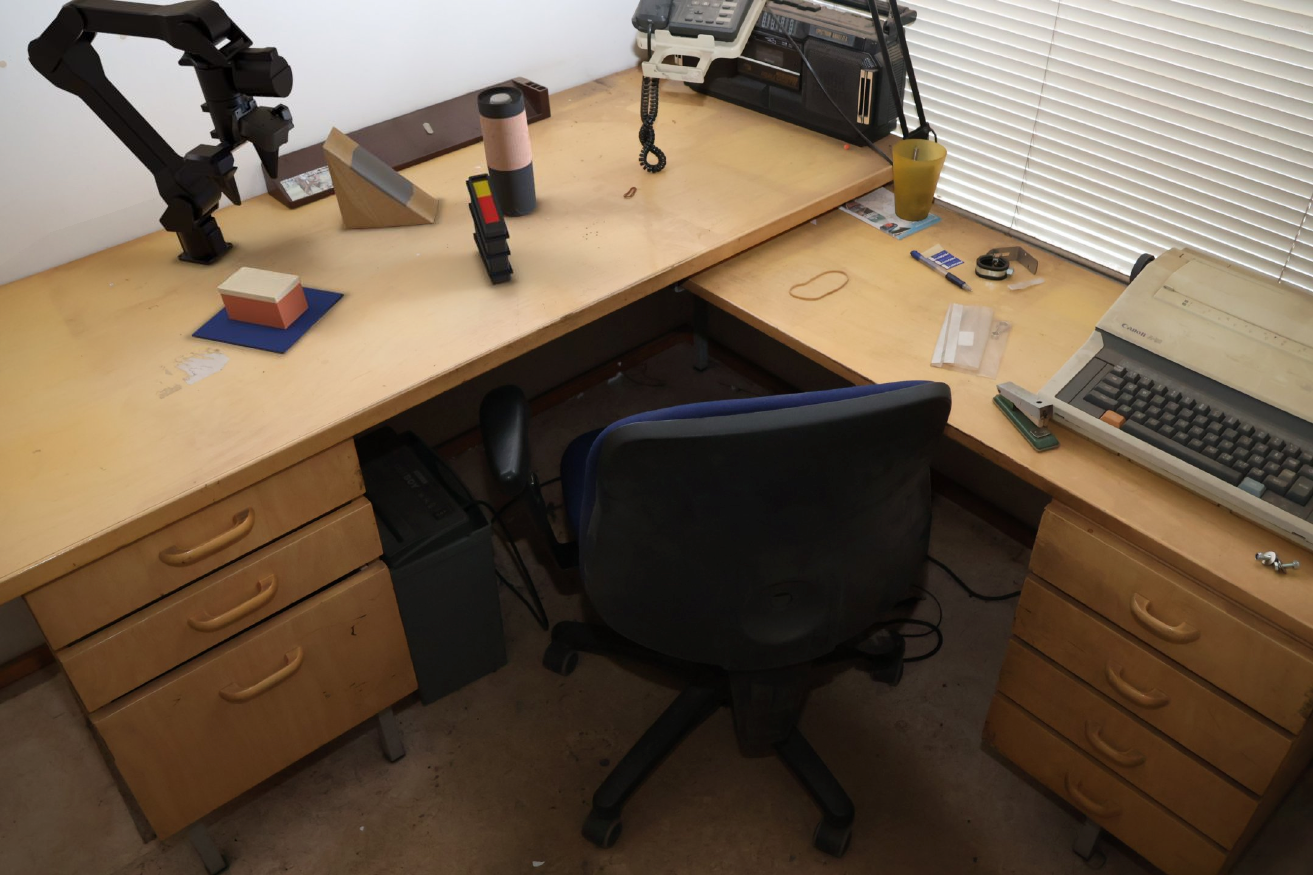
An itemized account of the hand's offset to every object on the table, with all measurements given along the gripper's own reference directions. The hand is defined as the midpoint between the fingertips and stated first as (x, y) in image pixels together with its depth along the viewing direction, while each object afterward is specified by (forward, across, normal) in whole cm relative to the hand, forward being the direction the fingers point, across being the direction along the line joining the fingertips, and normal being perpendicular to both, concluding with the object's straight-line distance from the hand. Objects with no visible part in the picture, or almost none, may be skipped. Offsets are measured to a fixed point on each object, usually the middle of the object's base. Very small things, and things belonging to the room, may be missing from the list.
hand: (256, 191), depth 158 cm
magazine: (+12, +6, -37) cm, 39 cm away
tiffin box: (+12, -15, -9) cm, 21 cm away
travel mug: (+12, +26, -31) cm, 42 cm away
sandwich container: (+12, +18, -11) cm, 24 cm away
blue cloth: (+12, -15, -9) cm, 21 cm away
